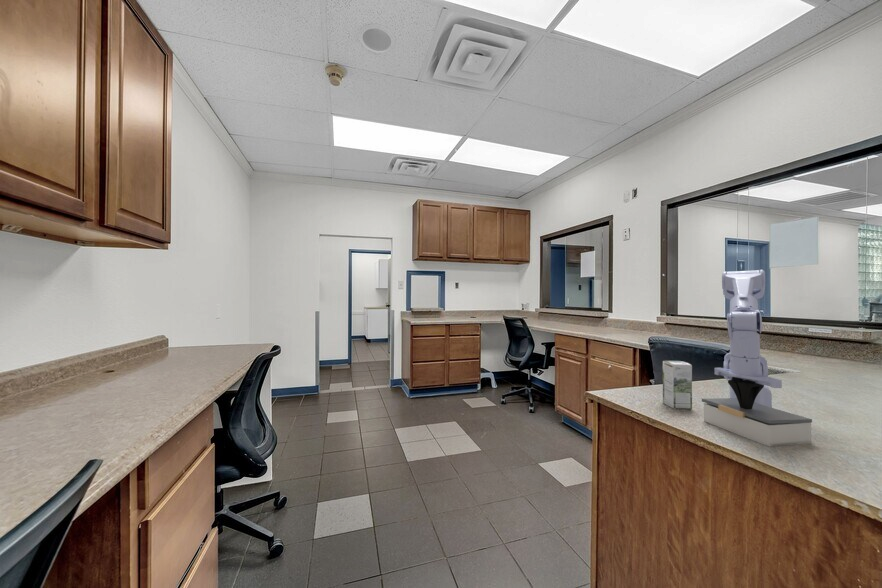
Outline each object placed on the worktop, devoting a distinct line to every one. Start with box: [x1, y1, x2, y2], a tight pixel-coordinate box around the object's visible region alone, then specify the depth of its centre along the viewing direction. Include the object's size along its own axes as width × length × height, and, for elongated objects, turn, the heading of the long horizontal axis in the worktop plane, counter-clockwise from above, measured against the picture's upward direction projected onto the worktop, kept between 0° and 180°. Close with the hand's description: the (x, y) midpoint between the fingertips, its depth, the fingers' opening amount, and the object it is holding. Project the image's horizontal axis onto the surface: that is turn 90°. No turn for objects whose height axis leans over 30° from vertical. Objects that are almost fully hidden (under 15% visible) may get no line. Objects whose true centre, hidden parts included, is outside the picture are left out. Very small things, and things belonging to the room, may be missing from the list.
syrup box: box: [662, 360, 693, 410], centre depth 102 cm, size 6×6×14 cm
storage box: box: [703, 402, 812, 448], centre depth 83 cm, size 12×16×5 cm
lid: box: [701, 397, 813, 424], centre depth 83 cm, size 13×16×1 cm
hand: (746, 408), depth 82 cm, fingers closed, pressing on lid
